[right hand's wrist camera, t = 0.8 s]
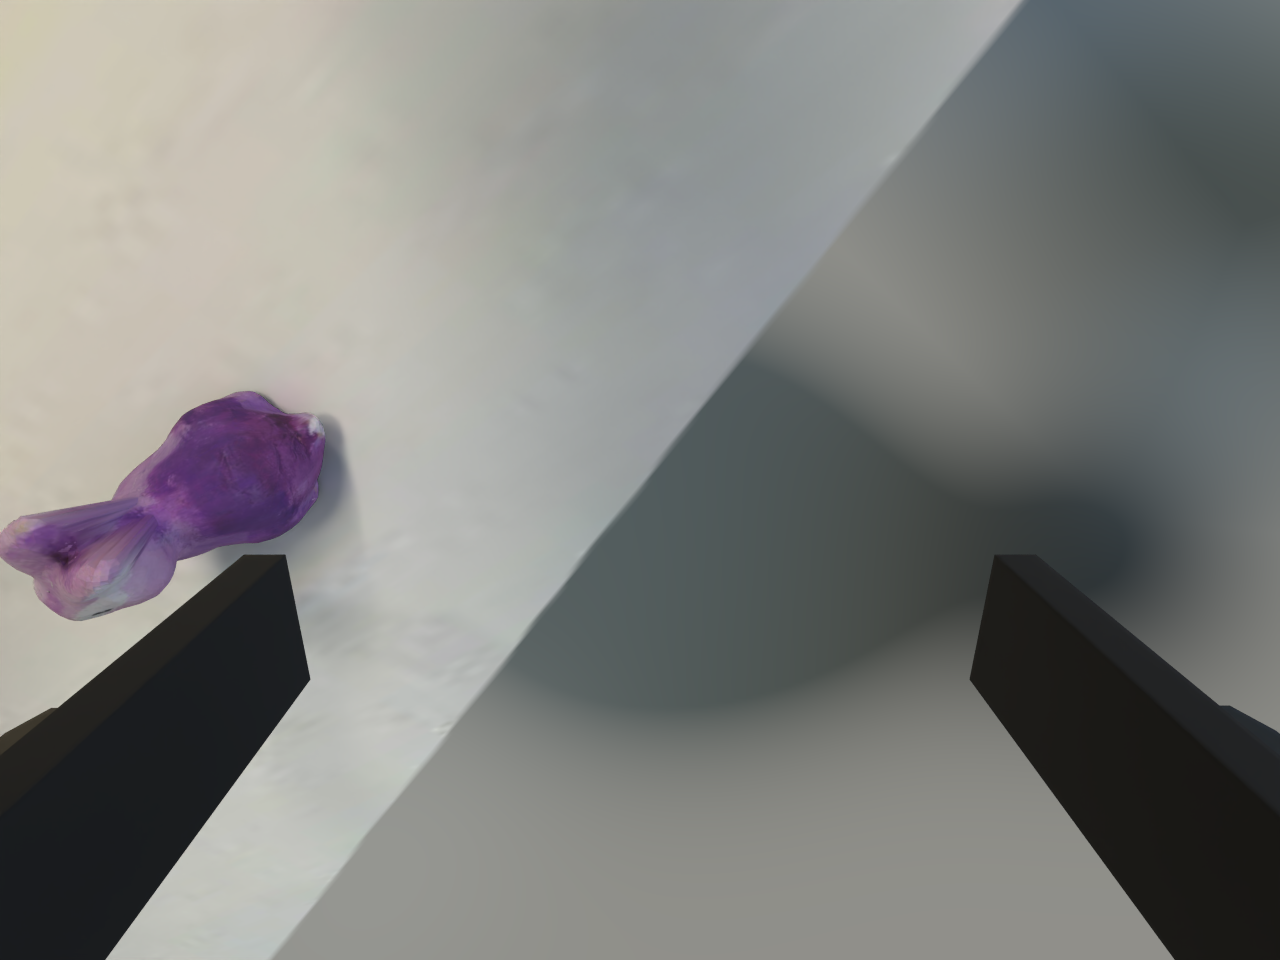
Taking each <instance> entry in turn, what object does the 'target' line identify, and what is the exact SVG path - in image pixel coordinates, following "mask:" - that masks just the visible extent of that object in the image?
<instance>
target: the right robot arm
mask: <svg viewBox="0 0 1280 960" xmlns="http://www.w3.org/2000/svg"><path fill="white" fill-rule="evenodd" d="M309 681H310V675H309V670H308V665H307V660H306V655H305V650H304V645H303V640H302V635H301V630H300V625H299V620H298V615H297V610H296V605H295V600H294V595H293V590H292V585H291V580H290V575H289V570H288V565H287V560H286V555H243V556H242V557H241V558H239V559H238V560H237V561H236V562H235V563H233V564H232V565H231V566H230V567H229V568H227V569H226V570H225V571H224V572H222V573H221V574H220V575H219V576H218V577H216V578H215V579H214V580H213V581H211V582H210V583H209V584H208V585H207V586H205V587H204V588H203V589H202V590H201V591H199V592H198V593H197V594H196V595H194V596H193V597H192V598H191V599H190V600H188V601H187V602H186V603H185V604H184V605H182V606H181V607H180V608H179V609H177V610H176V611H175V612H174V613H173V614H171V615H170V616H169V617H168V618H167V619H165V620H164V621H163V622H162V623H160V624H159V625H158V626H157V627H156V628H154V629H153V630H152V631H151V632H150V633H148V634H147V635H146V636H145V637H143V638H142V639H141V640H140V641H139V642H137V643H136V644H135V645H134V646H132V647H131V648H130V649H129V650H128V651H126V652H125V653H124V654H123V655H122V656H120V657H119V658H118V659H117V660H115V661H114V662H113V663H112V664H111V665H109V666H108V667H107V668H106V669H105V670H103V671H102V672H101V673H100V674H98V675H97V676H96V677H95V678H94V679H92V680H91V681H90V682H89V683H88V684H86V685H85V686H84V687H83V688H81V689H80V690H79V691H78V692H77V693H75V694H74V695H73V696H72V697H71V698H69V699H68V700H67V701H66V702H64V703H63V704H62V705H61V706H60V707H58V708H50V709H49V710H47V711H45V712H43V713H41V714H39V715H38V716H36V717H34V718H32V719H30V720H28V721H27V722H25V723H23V724H21V725H19V726H17V727H16V728H14V729H12V730H10V731H8V732H6V733H5V734H3V735H2V736H1V737H0V960H105V959H106V958H107V957H108V955H109V954H110V953H111V951H112V950H113V948H114V947H115V946H116V944H117V943H118V942H119V940H120V939H121V938H122V936H123V935H124V933H125V932H126V931H127V929H128V928H129V927H130V925H131V924H132V922H133V921H134V920H135V918H136V917H137V916H138V914H139V913H140V912H141V910H142V909H143V907H144V906H145V905H146V903H147V902H148V901H149V899H150V898H151V897H152V895H153V894H154V892H155V891H156V890H157V888H158V887H159V886H160V884H161V883H162V881H163V880H164V879H165V877H166V876H167V875H168V873H169V872H170V871H171V869H172V868H173V866H174V865H175V864H176V862H177V861H178V860H179V858H180V857H181V856H182V854H183V853H184V851H185V850H186V849H187V847H188V846H189V845H190V843H191V842H192V840H193V839H194V838H195V836H196V835H197V834H198V832H199V831H200V830H201V828H202V827H203V825H204V824H205V823H206V821H207V820H208V819H209V817H210V816H211V815H212V813H213V812H214V810H215V809H216V808H217V806H218V805H219V804H220V802H221V801H222V799H223V798H224V797H225V795H226V794H227V793H228V791H229V790H230V789H231V787H232V786H233V784H234V783H235V782H236V780H237V779H238V778H239V776H240V775H241V774H242V772H243V771H244V769H245V768H246V767H247V765H248V764H249V763H250V761H251V760H252V758H253V757H254V756H255V754H256V753H257V752H258V750H259V749H260V748H261V746H262V745H263V743H264V742H265V741H266V739H267V738H268V737H269V735H270V734H271V733H272V731H273V730H274V728H275V727H276V726H277V724H278V723H279V722H280V720H281V719H282V717H283V716H284V715H285V713H286V712H287V711H288V709H289V708H290V707H291V705H292V704H293V702H294V701H295V700H296V698H297V697H298V696H299V694H300V693H301V692H302V690H303V689H304V687H305V686H306V685H307V683H308V682H309ZM970 681H971V682H972V683H973V685H974V686H975V687H976V689H977V690H978V692H979V693H980V694H981V696H982V697H983V698H984V700H985V701H986V702H987V704H988V705H989V707H990V708H991V709H992V711H993V712H994V713H995V715H996V716H997V717H998V719H999V720H1000V722H1001V723H1002V724H1003V726H1004V727H1005V728H1006V730H1007V731H1008V733H1009V734H1010V735H1011V737H1012V738H1013V739H1014V741H1015V742H1016V743H1017V745H1018V746H1019V747H1020V749H1021V750H1022V752H1023V753H1024V754H1025V756H1026V757H1027V758H1028V760H1029V761H1030V763H1031V764H1032V765H1033V767H1034V768H1035V769H1036V771H1037V772H1038V774H1039V775H1040V776H1041V778H1042V779H1043V780H1044V782H1045V783H1046V784H1047V786H1048V787H1049V789H1050V790H1051V791H1052V792H1053V794H1054V795H1055V797H1056V798H1057V799H1058V801H1059V802H1060V804H1061V805H1062V806H1063V808H1064V809H1065V810H1066V812H1067V813H1068V815H1069V816H1070V817H1071V819H1072V820H1073V821H1074V823H1075V824H1076V825H1077V827H1078V828H1079V830H1080V831H1081V832H1082V834H1083V835H1084V836H1085V838H1086V839H1087V840H1088V842H1089V843H1090V845H1091V846H1092V847H1093V849H1094V850H1095V851H1096V853H1097V854H1098V855H1099V857H1100V858H1101V859H1102V861H1103V862H1104V864H1105V865H1106V866H1107V868H1108V869H1109V871H1110V872H1111V873H1112V875H1113V876H1114V877H1115V879H1116V880H1117V881H1118V883H1119V884H1120V886H1121V887H1122V888H1123V890H1124V891H1125V892H1126V894H1127V895H1128V896H1129V898H1130V899H1131V901H1132V902H1133V903H1134V905H1135V906H1136V907H1137V909H1138V910H1139V911H1140V913H1141V914H1142V916H1143V917H1144V918H1145V920H1146V921H1147V922H1148V924H1149V925H1150V927H1151V928H1152V929H1153V931H1154V932H1155V933H1156V935H1157V936H1158V938H1159V939H1160V940H1161V942H1162V943H1163V944H1164V946H1165V947H1166V948H1167V950H1168V951H1169V952H1170V954H1171V955H1172V957H1173V958H1174V959H1175V960H1280V734H1279V733H1278V732H1277V731H1275V730H1274V729H1272V728H1270V727H1268V726H1266V725H1264V724H1263V723H1261V722H1259V721H1257V720H1255V719H1253V718H1251V717H1250V716H1248V715H1246V714H1244V713H1242V712H1240V711H1239V710H1237V709H1235V708H1233V707H1231V706H1219V705H1218V704H1217V703H1216V702H1214V701H1213V700H1212V699H1211V698H1210V697H1208V696H1207V695H1206V694H1205V693H1203V692H1202V691H1201V690H1200V689H1199V688H1197V687H1196V686H1195V685H1194V684H1192V683H1191V682H1190V681H1189V680H1188V679H1186V678H1185V677H1184V676H1183V675H1181V674H1180V673H1179V672H1178V671H1177V670H1175V669H1174V668H1173V667H1172V666H1171V665H1169V664H1168V663H1167V662H1166V661H1164V660H1163V659H1162V658H1161V657H1160V656H1158V655H1157V654H1156V653H1155V652H1154V651H1152V650H1151V649H1150V648H1149V647H1147V646H1146V645H1145V644H1144V643H1143V642H1141V641H1140V640H1139V639H1138V638H1137V637H1135V636H1134V635H1133V634H1132V633H1130V632H1129V631H1128V630H1127V629H1126V628H1124V627H1123V626H1122V625H1121V624H1120V623H1118V622H1117V621H1116V620H1115V619H1113V618H1112V617H1111V616H1110V615H1109V614H1107V613H1106V612H1105V611H1104V610H1102V609H1101V608H1100V607H1099V606H1098V605H1096V604H1095V603H1094V602H1093V601H1092V600H1090V599H1089V598H1088V597H1087V596H1085V595H1084V594H1083V593H1082V592H1081V591H1079V590H1078V589H1077V588H1076V587H1075V586H1073V585H1072V584H1071V583H1070V582H1069V581H1067V580H1066V579H1065V578H1064V577H1062V576H1061V575H1060V574H1059V573H1058V572H1056V571H1055V570H1054V569H1053V568H1051V567H1050V566H1049V565H1048V564H1047V563H1045V562H1044V561H1043V560H1042V559H1041V558H1039V557H1038V556H1037V555H995V556H994V560H993V565H992V570H991V575H990V580H989V585H988V590H987V595H986V600H985V605H984V610H983V615H982V620H981V625H980V630H979V635H978V640H977V645H976V650H975V655H974V660H973V665H972V670H971V675H970Z"/></svg>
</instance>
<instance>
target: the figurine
mask: <svg viewBox="0 0 1280 960" xmlns="http://www.w3.org/2000/svg"><path fill="white" fill-rule="evenodd" d="M324 446H325V432H324V429H323V426H322V424H321V422H320V420H319V419H318V418H317V417H316V416H315V415H313V414H311V413H300V414H285V413H283V412H281V411H280V410H279V409H278V408H275V407H273V406H272V405H271V404H270V403H268V402H267V401H266V400H265V399H264V398H263V397H262V396H261V395H259V394H257V393H255V392H251V391H244V392H236V393H233V394H231V395H228V396H226V397H224V398H221V399H219V400H214V401H211V402H208V403H205V404H202V405H200V406H198V407H196V408H194V409H192V410H190V411H188V412H187V413H185V414H184V415H183V416H182V417H181V418H180V419H179V420H178V422H177V423H176V424H175V426H174V427H173V428H172V430H171V432H170V433H169V435H168V437H167V439H166V440H165V442H164V443H163V444H162V445H161V447H160V448H159V449H158V450H157V451H156V452H155V453H153V454H152V455H151V456H150V457H148V458H147V459H146V460H145V461H143V462H142V463H141V464H140V465H138V466H137V467H136V468H135V469H134V470H133V471H132V472H131V473H130V474H129V475H128V476H127V477H126V478H125V479H124V480H123V481H122V482H121V484H120V485H119V487H118V489H117V490H116V492H115V494H114V496H113V498H112V500H111V501H105V502H100V503H94V504H88V505H83V506H77V507H71V508H66V509H60V510H54V511H48V512H43V513H37V514H31V515H26V516H20V517H19V518H18V519H17V520H13V521H12V523H11V524H8V525H7V526H6V527H5V528H4V529H3V531H2V532H0V557H1V558H2V559H3V560H4V561H6V562H7V563H8V564H9V565H11V566H12V567H14V568H15V569H17V570H19V571H21V572H24V573H26V574H28V575H31V576H32V577H33V578H34V580H33V586H34V590H35V592H36V594H37V596H38V598H39V600H41V601H42V602H43V603H44V604H45V605H46V606H47V607H49V608H50V609H51V610H52V611H54V612H55V613H57V614H58V615H60V616H62V617H65V618H67V619H69V620H73V621H83V620H87V619H91V618H95V617H99V616H103V615H106V614H109V613H112V612H114V611H117V610H120V609H122V608H126V607H130V606H133V605H137V604H140V603H143V602H145V601H147V600H149V599H151V598H153V597H155V596H157V595H158V594H160V592H161V591H162V590H163V589H164V588H165V587H166V586H167V584H168V583H169V582H170V580H171V578H172V576H173V574H174V571H175V568H176V562H177V561H178V560H183V559H187V558H190V557H194V556H197V555H200V554H203V553H205V552H208V551H210V550H212V549H214V548H217V547H220V546H226V545H233V544H242V543H259V542H263V541H266V540H270V539H273V538H276V537H278V536H280V535H282V534H284V533H285V532H287V531H288V530H290V529H291V528H293V527H294V526H295V525H296V524H297V523H298V522H299V521H300V520H301V519H302V518H303V516H304V515H305V514H306V512H307V511H308V510H309V509H310V507H311V506H312V505H313V504H314V503H315V501H316V500H317V497H318V482H317V479H318V476H319V474H320V471H321V467H322V461H323V453H324Z"/></svg>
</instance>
